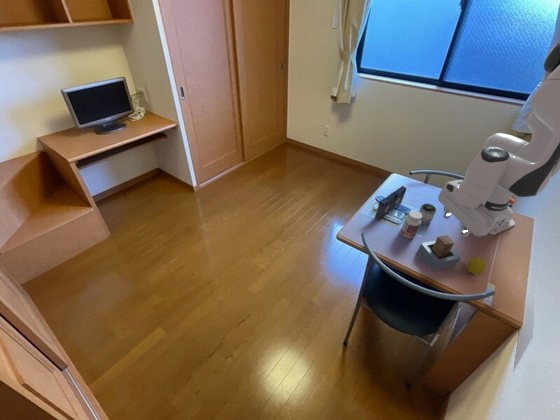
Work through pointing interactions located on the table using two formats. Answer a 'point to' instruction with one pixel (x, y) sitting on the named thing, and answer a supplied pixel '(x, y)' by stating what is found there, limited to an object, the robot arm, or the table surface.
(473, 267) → the lemon
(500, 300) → the table surface
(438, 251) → the walnut spigot peg
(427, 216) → the camera lens
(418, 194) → the table surface
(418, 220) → the pill bottle
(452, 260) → the docking socket
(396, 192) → the vhs cassette tape
